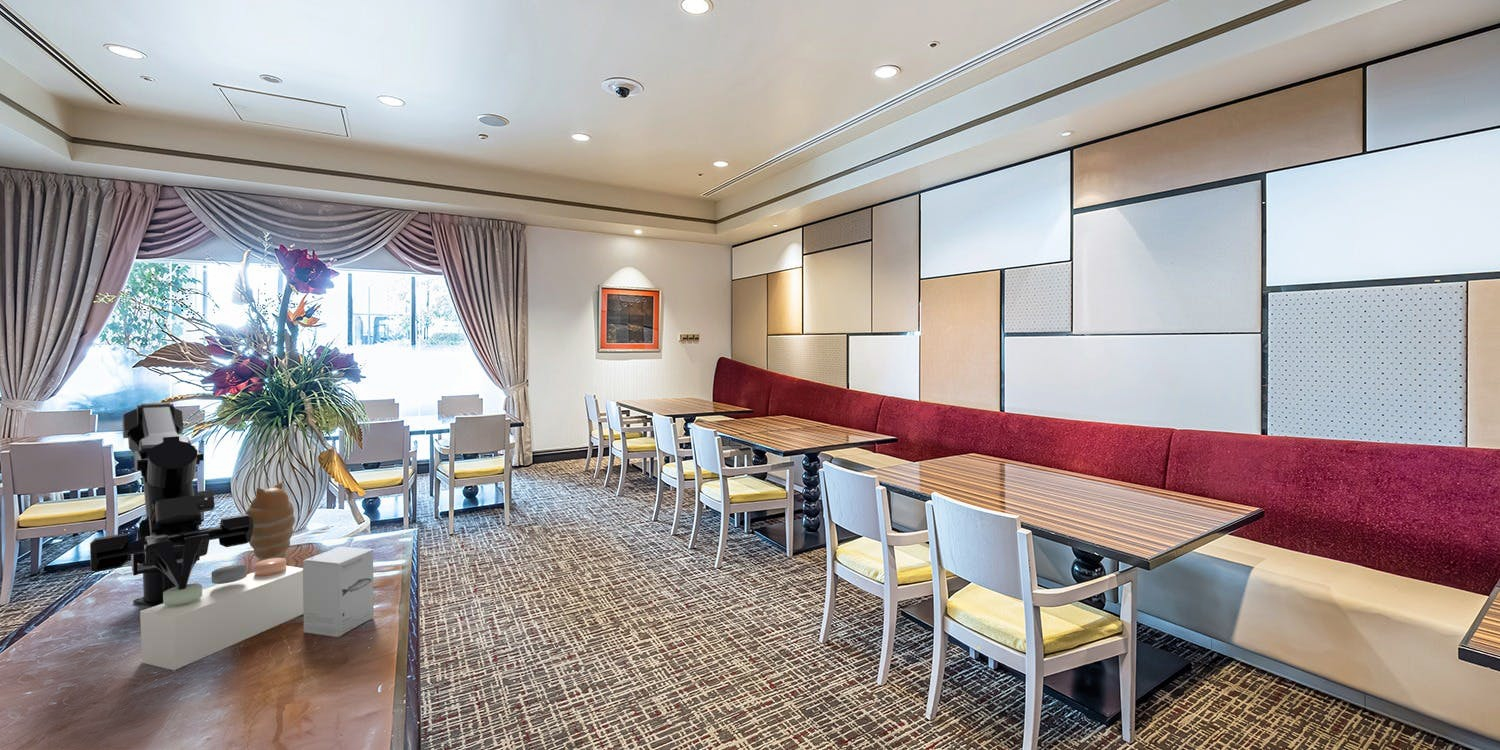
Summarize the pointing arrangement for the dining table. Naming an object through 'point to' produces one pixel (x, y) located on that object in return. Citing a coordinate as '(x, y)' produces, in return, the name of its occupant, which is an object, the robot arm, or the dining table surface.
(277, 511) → the cat ice cream
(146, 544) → the robot arm
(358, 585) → the supplement box
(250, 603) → the button bar
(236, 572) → the grey button
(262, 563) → the terracotta button
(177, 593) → the sage button
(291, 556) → the dining table surface
